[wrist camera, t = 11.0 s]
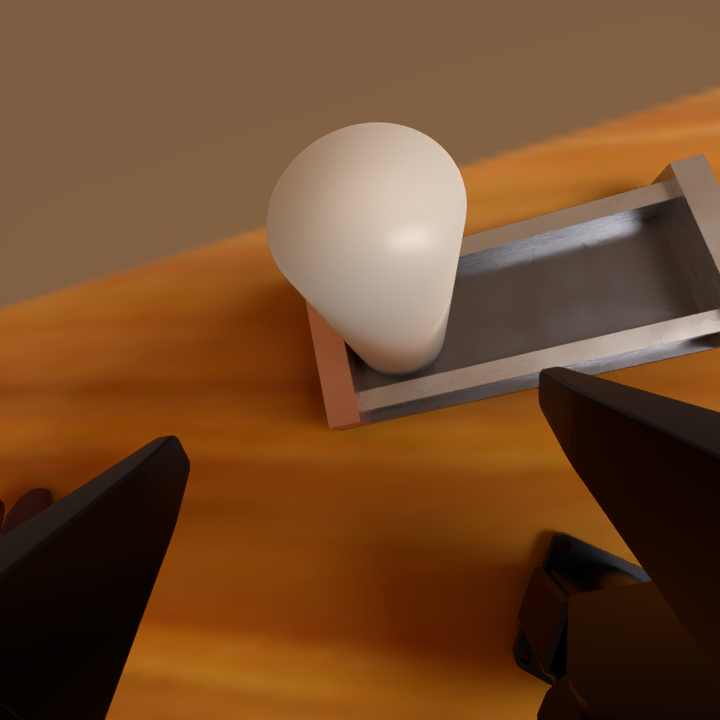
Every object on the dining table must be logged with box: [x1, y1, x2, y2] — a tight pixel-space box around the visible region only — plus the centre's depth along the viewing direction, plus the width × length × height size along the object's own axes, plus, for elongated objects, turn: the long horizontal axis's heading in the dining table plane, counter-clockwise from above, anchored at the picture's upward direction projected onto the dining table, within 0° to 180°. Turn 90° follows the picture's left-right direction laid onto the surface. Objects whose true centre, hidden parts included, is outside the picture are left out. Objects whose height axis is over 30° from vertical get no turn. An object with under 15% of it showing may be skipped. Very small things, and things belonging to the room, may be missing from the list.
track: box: [305, 154, 720, 430], centre depth 19 cm, size 21×9×4 cm, turn 102°
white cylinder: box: [267, 123, 467, 377], centre depth 15 cm, size 5×5×12 cm
